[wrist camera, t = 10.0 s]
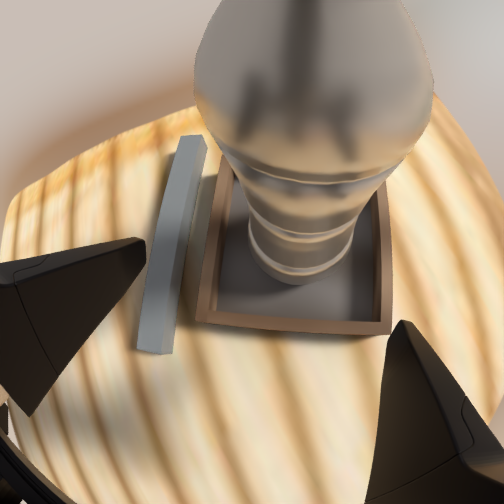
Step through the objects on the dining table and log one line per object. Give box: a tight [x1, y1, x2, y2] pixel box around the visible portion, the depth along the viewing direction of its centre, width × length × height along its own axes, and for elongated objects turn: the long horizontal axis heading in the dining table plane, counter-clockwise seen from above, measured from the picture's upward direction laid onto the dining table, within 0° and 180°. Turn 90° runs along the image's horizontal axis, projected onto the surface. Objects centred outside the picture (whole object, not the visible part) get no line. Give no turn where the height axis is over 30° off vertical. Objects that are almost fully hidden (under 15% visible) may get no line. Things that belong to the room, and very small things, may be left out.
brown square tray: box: [195, 155, 393, 335], centre depth 19 cm, size 13×13×2 cm
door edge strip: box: [137, 135, 207, 354], centre depth 21 cm, size 18×2×2 cm, turn 174°
